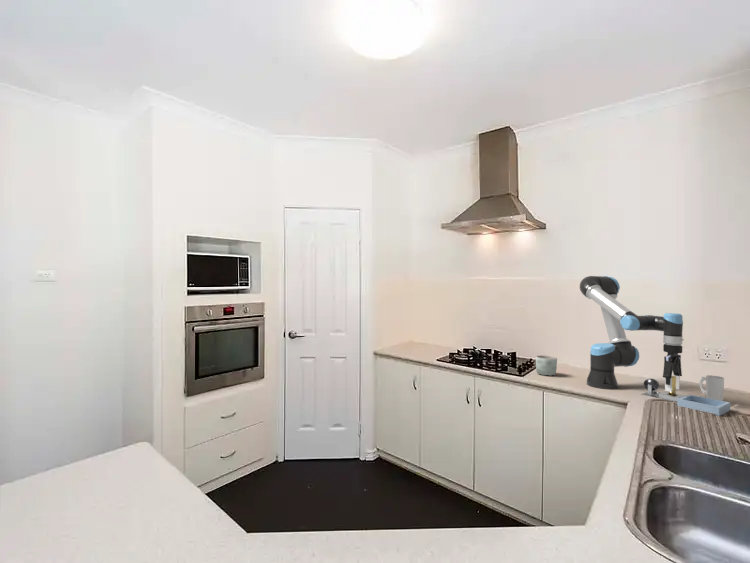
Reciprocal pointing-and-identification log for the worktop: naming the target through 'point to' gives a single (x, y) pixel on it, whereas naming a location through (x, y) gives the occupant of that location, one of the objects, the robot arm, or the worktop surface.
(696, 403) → the tray
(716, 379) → the mug
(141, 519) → the worktop surface
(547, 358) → the planter
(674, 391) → the pin
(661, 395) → the tensioner
